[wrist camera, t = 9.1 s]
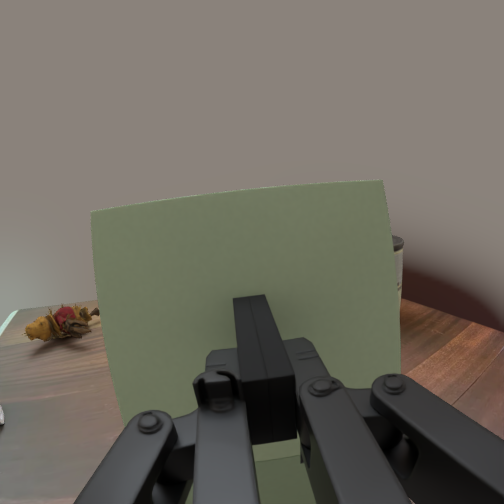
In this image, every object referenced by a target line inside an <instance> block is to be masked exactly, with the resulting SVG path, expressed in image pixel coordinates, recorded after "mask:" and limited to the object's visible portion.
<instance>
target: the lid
mask: <svg viewBox="0 0 504 504" xmlns="http://www.w3.org/2000/svg"><path fill="white" fill-rule="evenodd" d="M91 232H92V249H93V261H94V271H95V281H96V290H97V298H98V305H99V312H100V319H101V325H102V331H103V337H104V342H105V348H106V353H107V358H108V363H109V367H110V372H111V376H112V381H113V385H114V389H115V393H116V397H117V401H118V405H119V408H120V412H121V416H122V419H123V423H124V426H125V427H126V425H127V424H128V422H129V421H130V420H131V419H132V418H133V417H134V416H135V415H137V414H139V413H141V412H144V411H148V410H160V411H164V412H166V413H168V414H169V415H170V416H171V417H172V419H173V418H176V417H180V416H184V415H186V414H189V413H191V412H193V411H194V410H196V409H197V408H198V404H197V400H196V396H195V393H194V389H193V385H192V383H193V381H194V379H195V378H196V377H197V376H198V375H199V374H201V373H203V372H205V364H206V357H207V356H208V354H209V353H210V352H211V351H212V350H218V349H228V348H236V347H237V340H236V330H235V320H234V309H233V298H238V297H246V296H254V295H262V294H265V296H266V299H267V301H268V304H269V307H270V309H271V312H272V314H273V317H274V320H275V322H276V325H277V328H278V330H279V333H280V336H281V338H282V340H288V339H294V338H300V337H304V338H306V339H307V340H309V341H311V342H312V343H313V345H314V347H315V349H316V351H317V352H318V354H319V357H320V358H321V359H322V361H323V363H324V365H325V367H326V368H327V370H328V372H329V374H330V376H331V377H334V378H336V379H338V380H340V381H341V382H342V383H343V384H344V386H345V387H347V388H355V389H361V388H371V386H372V383H373V382H374V380H375V379H376V378H378V377H379V376H382V375H385V374H392V373H396V374H401V343H400V317H399V300H398V287H397V276H396V266H395V257H394V249H393V241H392V234H391V227H390V220H389V214H388V208H387V202H386V196H385V191H384V185H383V180H364V181H345V182H328V183H313V184H300V185H287V186H276V187H266V188H255V189H245V190H236V191H227V192H218V193H210V194H201V195H193V196H186V197H178V198H171V199H164V200H157V201H150V202H144V203H138V204H131V205H126V206H120V207H114V208H107V209H102V210H96V211H91ZM252 449H253V455H254V461H255V462H256V461H264V460H271V459H278V458H284V457H290V456H295V455H300V438H299V434H298V431H297V439H292V440H286V441H280V442H274V443H267V444H260V445H252Z"/></svg>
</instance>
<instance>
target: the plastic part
mask: <svg viewBox="0 0 504 504" xmlns="http://www.w3.org/2000/svg"><path fill="white" fill-rule="evenodd" d="M0 424H4V414H3V411H2V408H1V405H0Z"/></svg>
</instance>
